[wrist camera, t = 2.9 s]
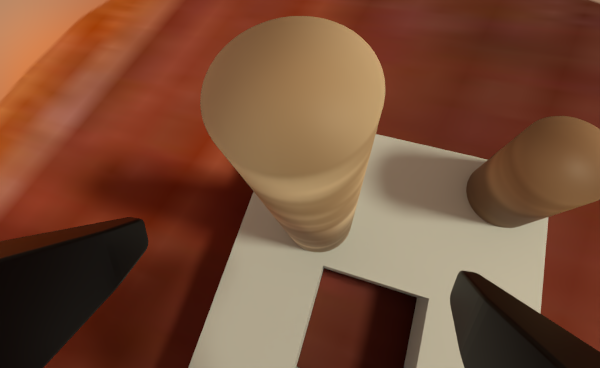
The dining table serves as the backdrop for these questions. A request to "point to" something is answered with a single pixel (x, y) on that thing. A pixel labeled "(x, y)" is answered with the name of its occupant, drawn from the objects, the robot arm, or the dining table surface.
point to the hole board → (371, 262)
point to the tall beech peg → (298, 121)
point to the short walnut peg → (538, 173)
